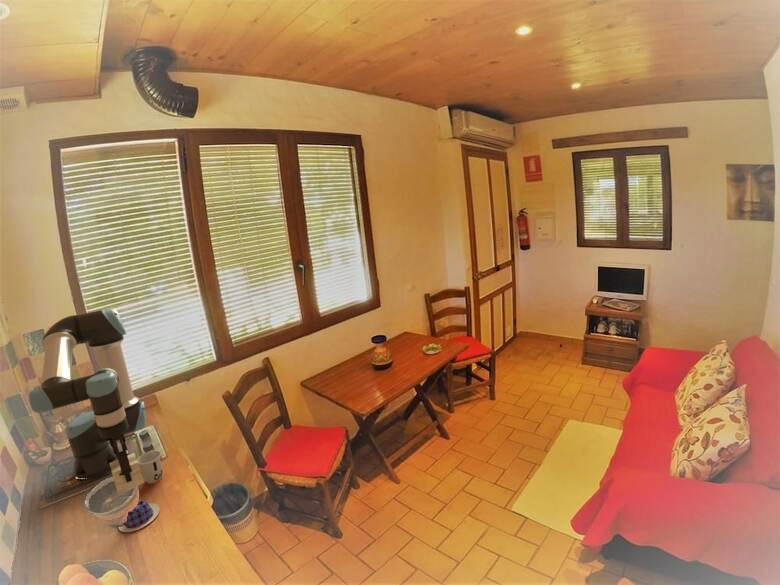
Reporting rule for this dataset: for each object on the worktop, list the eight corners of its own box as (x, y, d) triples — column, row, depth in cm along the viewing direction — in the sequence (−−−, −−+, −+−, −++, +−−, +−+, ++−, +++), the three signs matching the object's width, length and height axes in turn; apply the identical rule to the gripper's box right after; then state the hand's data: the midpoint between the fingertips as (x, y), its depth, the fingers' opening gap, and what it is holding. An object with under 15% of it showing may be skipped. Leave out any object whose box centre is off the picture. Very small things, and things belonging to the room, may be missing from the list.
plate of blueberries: (155, 499, 136) (152, 487, 135) (163, 518, 128) (160, 505, 127) (116, 519, 129) (112, 507, 127) (121, 540, 120) (117, 527, 119)
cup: (158, 486, 143) (152, 463, 141) (137, 487, 143) (131, 464, 141) (170, 471, 151) (165, 449, 148) (150, 472, 151) (145, 450, 149)
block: (115, 483, 125) (109, 463, 123) (139, 472, 129) (134, 452, 127) (118, 494, 120) (111, 473, 118) (143, 482, 124) (137, 462, 122)
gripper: (94, 415, 124) (111, 474, 129) (100, 439, 109) (119, 505, 115) (121, 405, 129) (137, 463, 134) (131, 428, 114) (148, 491, 119)
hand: (129, 482), depth 124 cm, fingers closed on block, 7 cm apart
